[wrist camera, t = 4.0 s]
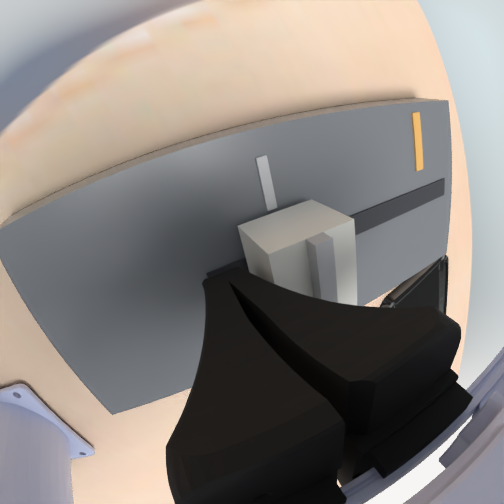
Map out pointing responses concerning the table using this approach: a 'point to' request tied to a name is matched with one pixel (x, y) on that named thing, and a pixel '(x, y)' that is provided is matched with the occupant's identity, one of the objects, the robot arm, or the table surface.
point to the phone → (422, 288)
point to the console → (220, 232)
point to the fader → (304, 251)
